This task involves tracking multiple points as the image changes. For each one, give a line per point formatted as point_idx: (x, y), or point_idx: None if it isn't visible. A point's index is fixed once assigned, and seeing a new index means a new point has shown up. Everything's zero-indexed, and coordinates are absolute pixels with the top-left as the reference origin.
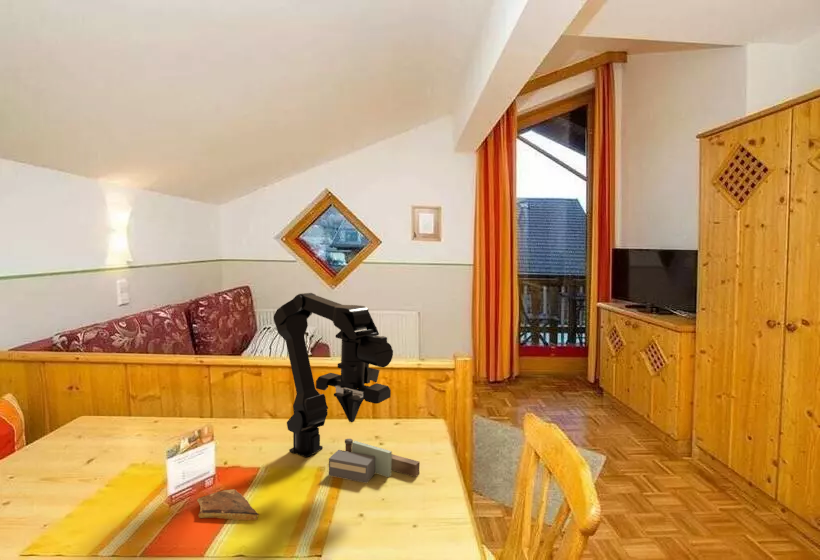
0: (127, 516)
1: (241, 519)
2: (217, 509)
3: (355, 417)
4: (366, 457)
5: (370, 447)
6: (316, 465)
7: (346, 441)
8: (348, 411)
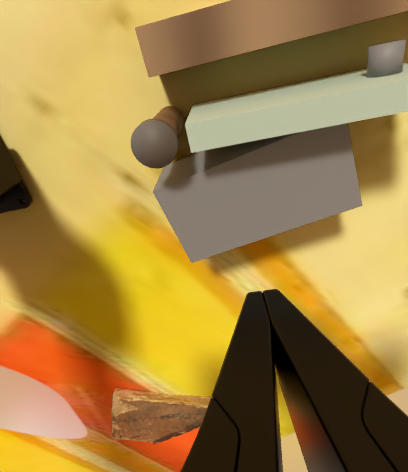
0: (82, 466)
1: None
2: (169, 434)
3: (298, 311)
4: (313, 155)
5: (322, 124)
6: (107, 213)
7: (158, 165)
8: (279, 431)
